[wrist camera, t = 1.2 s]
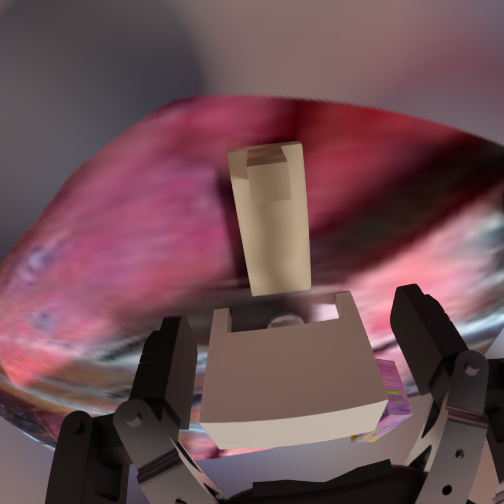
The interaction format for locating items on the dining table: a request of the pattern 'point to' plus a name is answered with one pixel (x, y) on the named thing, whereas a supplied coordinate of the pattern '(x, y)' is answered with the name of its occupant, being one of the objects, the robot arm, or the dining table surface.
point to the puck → (284, 318)
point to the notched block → (291, 382)
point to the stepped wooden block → (272, 215)
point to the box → (389, 403)
